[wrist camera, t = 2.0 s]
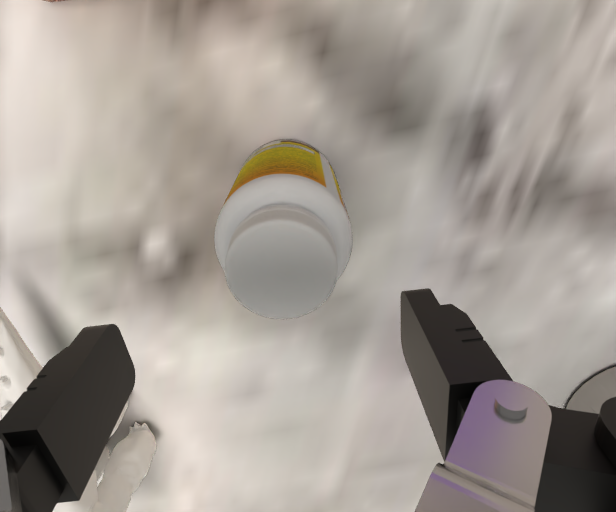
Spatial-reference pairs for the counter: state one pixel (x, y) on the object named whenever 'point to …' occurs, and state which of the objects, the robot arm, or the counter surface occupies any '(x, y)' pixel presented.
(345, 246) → the supplement bottle
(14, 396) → the white dinosaur figurine
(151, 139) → the counter surface
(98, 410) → the robot arm
